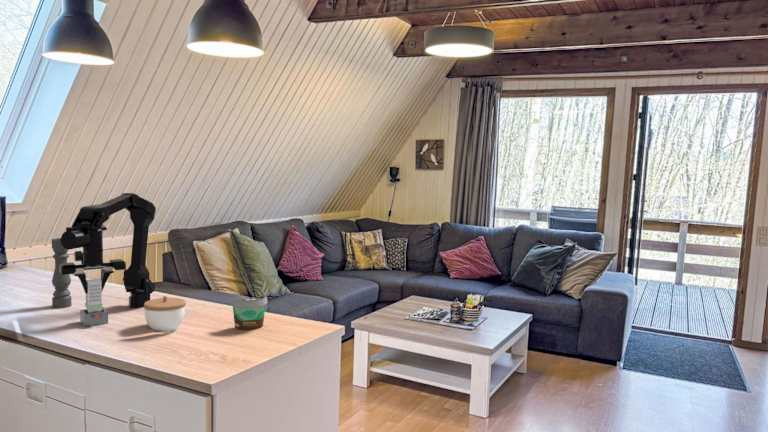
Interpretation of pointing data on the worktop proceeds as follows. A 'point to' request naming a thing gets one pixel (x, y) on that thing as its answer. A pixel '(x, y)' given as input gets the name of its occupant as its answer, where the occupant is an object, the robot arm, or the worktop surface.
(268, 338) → the worktop surface
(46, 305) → the worktop surface
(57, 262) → the candle holder
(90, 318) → the stand base
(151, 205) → the robot arm
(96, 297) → the grey tall block
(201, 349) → the worktop surface
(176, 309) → the lidded bowl
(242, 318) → the food container
